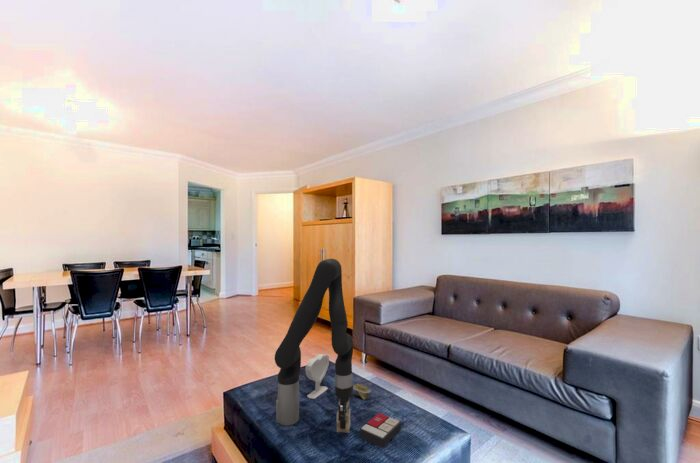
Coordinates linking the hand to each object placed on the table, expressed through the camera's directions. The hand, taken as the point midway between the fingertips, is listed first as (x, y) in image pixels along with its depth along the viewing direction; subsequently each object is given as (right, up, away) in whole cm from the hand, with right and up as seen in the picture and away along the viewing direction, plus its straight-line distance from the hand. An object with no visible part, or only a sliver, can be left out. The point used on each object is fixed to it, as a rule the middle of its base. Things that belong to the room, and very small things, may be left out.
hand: (344, 422), depth 131 cm
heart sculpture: (-14, -3, +30) cm, 34 cm away
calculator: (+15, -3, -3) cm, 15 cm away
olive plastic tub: (+8, -3, +24) cm, 26 cm away
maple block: (0, -3, 0) cm, 3 cm away
